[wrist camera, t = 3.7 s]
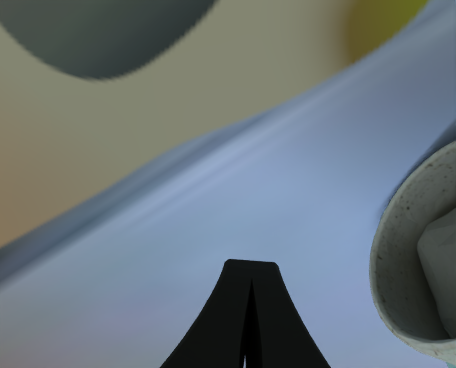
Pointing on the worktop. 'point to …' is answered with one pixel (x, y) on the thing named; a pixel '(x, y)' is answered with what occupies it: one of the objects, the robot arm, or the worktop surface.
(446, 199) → the ceramic mug
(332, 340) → the worktop surface
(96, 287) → the worktop surface
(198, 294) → the worktop surface
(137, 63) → the worktop surface
